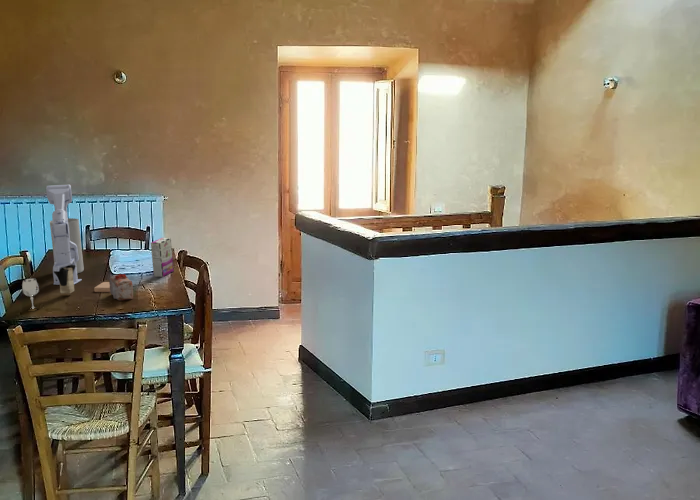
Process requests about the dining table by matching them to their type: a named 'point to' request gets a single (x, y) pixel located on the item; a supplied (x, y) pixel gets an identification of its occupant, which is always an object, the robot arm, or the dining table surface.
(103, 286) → the terracotta tile
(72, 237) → the cylinder vase
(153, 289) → the dining table surface
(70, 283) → the beech stick
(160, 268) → the candy bar box
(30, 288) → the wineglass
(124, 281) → the food item
